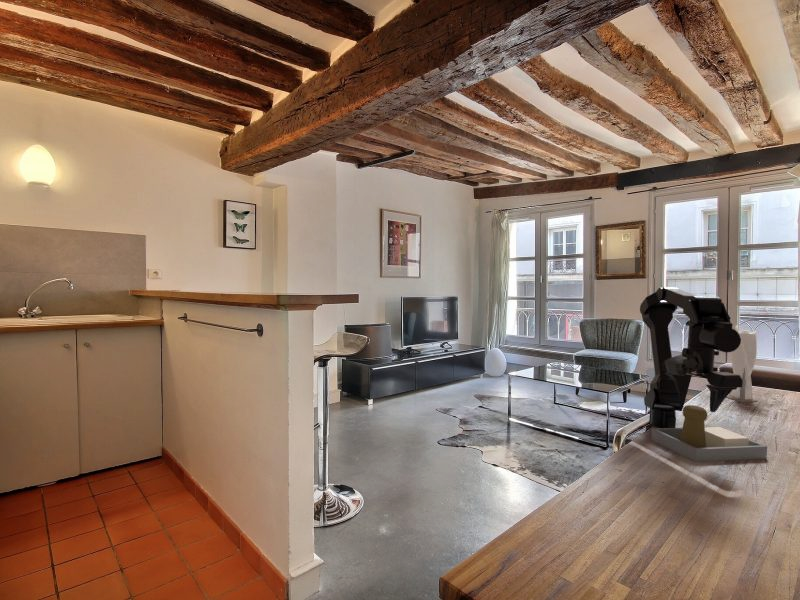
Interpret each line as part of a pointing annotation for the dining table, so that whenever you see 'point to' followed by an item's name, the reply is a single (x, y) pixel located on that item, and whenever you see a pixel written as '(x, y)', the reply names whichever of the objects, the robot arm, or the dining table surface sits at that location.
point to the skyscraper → (744, 365)
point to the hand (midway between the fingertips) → (696, 406)
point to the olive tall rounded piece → (694, 426)
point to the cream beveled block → (723, 438)
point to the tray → (672, 441)
